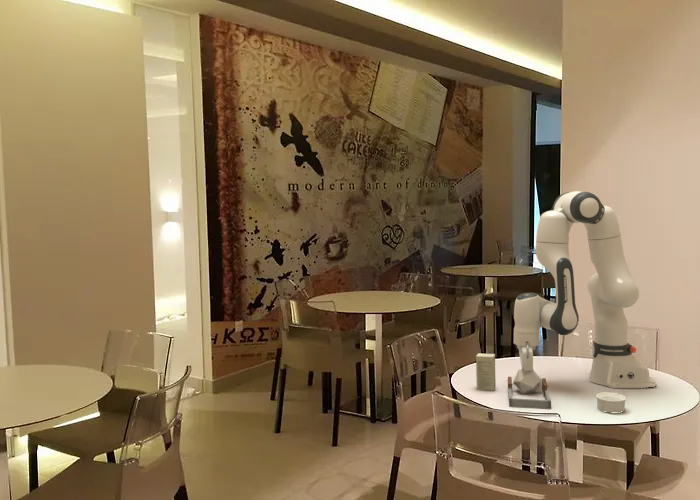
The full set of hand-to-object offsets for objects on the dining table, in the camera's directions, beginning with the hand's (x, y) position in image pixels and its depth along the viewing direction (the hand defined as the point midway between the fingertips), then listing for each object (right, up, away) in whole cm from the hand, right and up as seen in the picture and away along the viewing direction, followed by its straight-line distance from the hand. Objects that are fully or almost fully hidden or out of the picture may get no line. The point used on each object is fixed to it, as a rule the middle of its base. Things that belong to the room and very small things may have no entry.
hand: (525, 377), depth 237 cm
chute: (-1, -4, -7) cm, 8 cm away
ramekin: (+20, -6, -25) cm, 33 cm away
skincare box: (-15, -4, -2) cm, 15 cm away
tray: (-3, -5, -17) cm, 18 cm away
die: (-1, -4, -6) cm, 8 cm away
